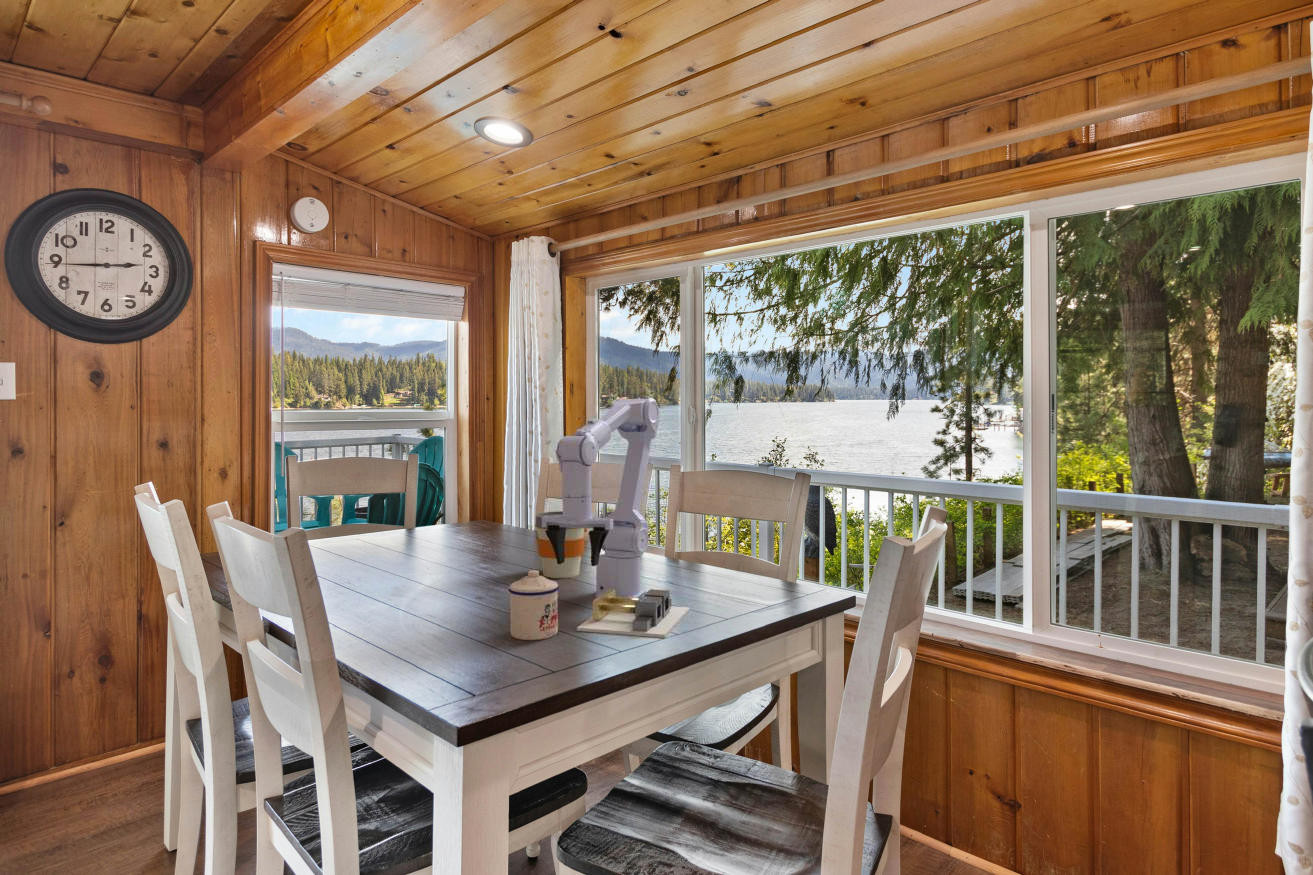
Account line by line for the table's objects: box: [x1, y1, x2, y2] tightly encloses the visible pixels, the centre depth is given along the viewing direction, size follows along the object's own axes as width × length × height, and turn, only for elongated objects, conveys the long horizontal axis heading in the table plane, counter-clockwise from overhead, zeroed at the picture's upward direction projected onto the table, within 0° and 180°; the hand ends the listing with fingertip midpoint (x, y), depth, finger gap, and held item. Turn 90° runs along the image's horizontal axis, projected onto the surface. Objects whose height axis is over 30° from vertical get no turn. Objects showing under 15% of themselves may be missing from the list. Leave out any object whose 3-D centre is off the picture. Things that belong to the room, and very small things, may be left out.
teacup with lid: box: [508, 569, 560, 641], centre depth 139 cm, size 12×9×12 cm
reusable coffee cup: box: [534, 510, 586, 579], centre depth 187 cm, size 13×13×15 cm
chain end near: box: [633, 595, 662, 632], centre depth 141 cm, size 4×8×4 cm, turn 164°
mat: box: [576, 605, 690, 639], centre depth 146 cm, size 17×19×1 cm
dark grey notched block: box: [643, 588, 672, 618], centre depth 150 cm, size 4×8×4 cm, turn 164°
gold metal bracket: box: [592, 589, 640, 620], centre depth 147 cm, size 8×10×4 cm
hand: (577, 564), depth 149 cm, fingers open, 7 cm apart
